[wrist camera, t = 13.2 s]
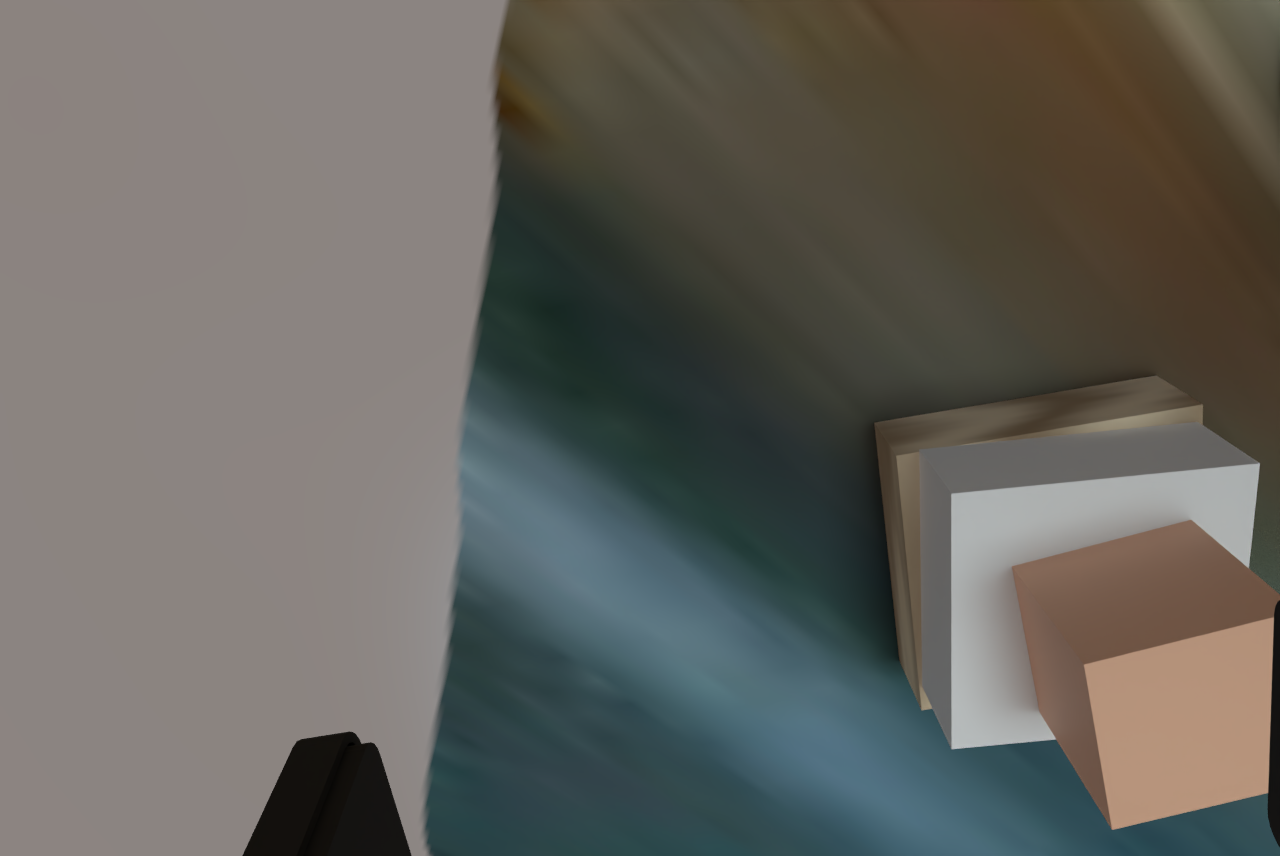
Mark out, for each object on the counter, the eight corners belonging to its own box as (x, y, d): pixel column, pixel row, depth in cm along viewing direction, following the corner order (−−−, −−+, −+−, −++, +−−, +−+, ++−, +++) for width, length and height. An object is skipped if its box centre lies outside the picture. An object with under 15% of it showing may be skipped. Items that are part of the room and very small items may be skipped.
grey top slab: (1197, 421, 39) (1259, 463, 35) (1177, 661, 42) (1232, 722, 38) (919, 449, 39) (951, 493, 35) (921, 685, 42) (951, 749, 38)
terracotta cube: (1191, 519, 35) (1298, 610, 30) (1210, 670, 37) (1314, 781, 32) (1011, 566, 36) (1083, 664, 30) (1039, 711, 38) (1112, 829, 32)
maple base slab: (1150, 371, 42) (1203, 404, 38) (1153, 614, 46) (1201, 666, 42) (871, 418, 43) (896, 455, 39) (897, 655, 46) (921, 710, 43)
